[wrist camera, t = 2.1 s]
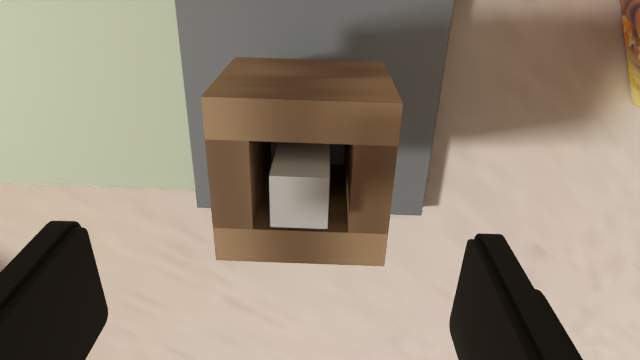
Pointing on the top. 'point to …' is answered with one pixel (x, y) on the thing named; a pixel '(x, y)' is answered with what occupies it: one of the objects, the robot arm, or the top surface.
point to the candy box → (632, 44)
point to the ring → (301, 127)
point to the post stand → (321, 44)
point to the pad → (93, 95)
